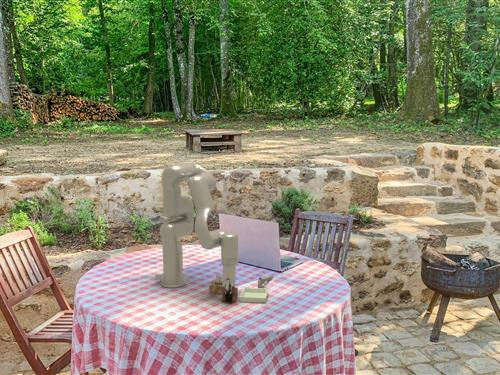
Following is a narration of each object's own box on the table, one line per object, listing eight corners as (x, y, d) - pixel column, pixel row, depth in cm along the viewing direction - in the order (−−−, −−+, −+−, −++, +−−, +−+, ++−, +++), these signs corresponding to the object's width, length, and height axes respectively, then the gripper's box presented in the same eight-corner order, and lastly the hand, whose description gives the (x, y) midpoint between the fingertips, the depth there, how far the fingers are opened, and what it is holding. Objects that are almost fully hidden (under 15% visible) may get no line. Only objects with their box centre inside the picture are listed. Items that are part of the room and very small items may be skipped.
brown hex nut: (209, 293, 230) (209, 285, 230) (212, 288, 238) (212, 280, 237) (225, 294, 229) (225, 286, 229) (228, 288, 237) (227, 280, 236)
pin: (215, 292, 232) (215, 275, 231) (216, 290, 235) (216, 274, 233) (221, 292, 232) (220, 275, 231) (221, 290, 235) (221, 274, 233)
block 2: (222, 302, 220) (222, 291, 219) (224, 297, 226) (224, 286, 225) (235, 303, 219) (235, 292, 219) (237, 297, 225) (237, 287, 225)
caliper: (259, 291, 234) (260, 278, 233) (257, 290, 235) (257, 278, 234) (273, 277, 253) (274, 265, 252) (271, 277, 253) (272, 265, 252)
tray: (239, 302, 220) (239, 296, 220) (243, 292, 232) (243, 287, 231) (265, 303, 219) (265, 298, 219) (268, 293, 230) (268, 288, 230)
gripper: (224, 254, 229) (225, 291, 232) (217, 266, 212) (218, 306, 215) (241, 254, 228) (241, 292, 231) (235, 266, 211) (235, 307, 214)
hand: (230, 298), depth 223 cm, fingers closed on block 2, 6 cm apart
